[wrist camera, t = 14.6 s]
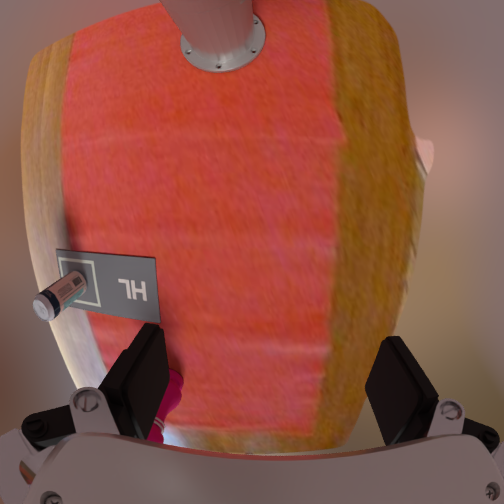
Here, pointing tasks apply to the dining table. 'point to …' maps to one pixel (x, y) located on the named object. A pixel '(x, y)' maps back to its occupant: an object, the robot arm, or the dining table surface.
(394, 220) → the dining table surface
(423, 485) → the robot arm
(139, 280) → the slate board
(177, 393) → the pepper mill
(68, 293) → the beer can
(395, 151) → the dining table surface
